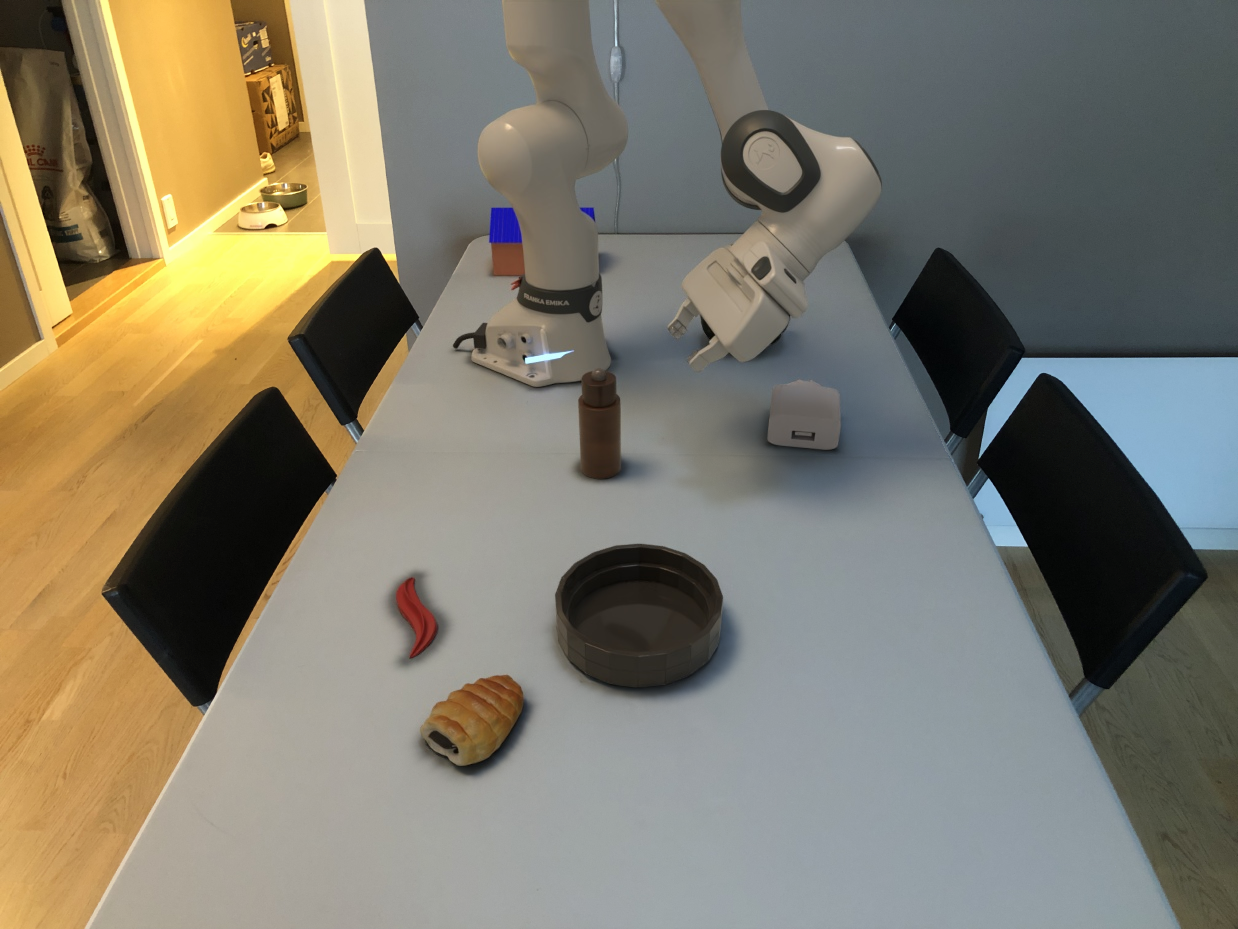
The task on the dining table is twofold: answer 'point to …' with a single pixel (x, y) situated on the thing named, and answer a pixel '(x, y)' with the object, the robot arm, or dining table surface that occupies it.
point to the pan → (638, 615)
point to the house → (510, 241)
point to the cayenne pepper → (416, 616)
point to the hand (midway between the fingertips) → (681, 349)
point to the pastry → (474, 719)
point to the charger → (804, 415)
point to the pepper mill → (599, 425)
